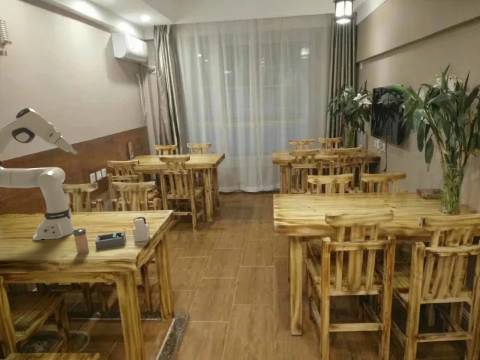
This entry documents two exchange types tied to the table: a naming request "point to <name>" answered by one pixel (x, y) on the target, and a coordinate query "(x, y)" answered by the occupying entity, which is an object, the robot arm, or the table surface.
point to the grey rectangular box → (110, 240)
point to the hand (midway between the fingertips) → (74, 151)
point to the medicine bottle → (141, 229)
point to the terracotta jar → (81, 241)
